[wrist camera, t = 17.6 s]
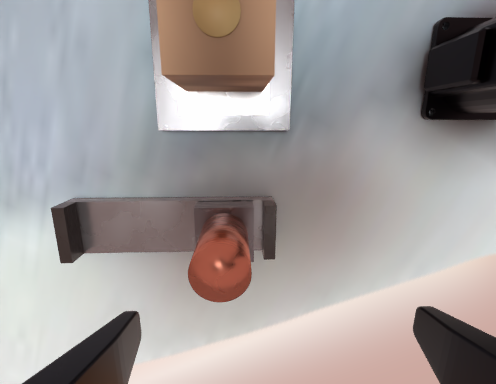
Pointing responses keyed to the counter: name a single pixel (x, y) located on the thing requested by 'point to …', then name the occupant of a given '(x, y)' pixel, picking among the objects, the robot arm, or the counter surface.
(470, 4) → the counter surface
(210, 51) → the block
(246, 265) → the handle
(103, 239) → the rail
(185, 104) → the plate
